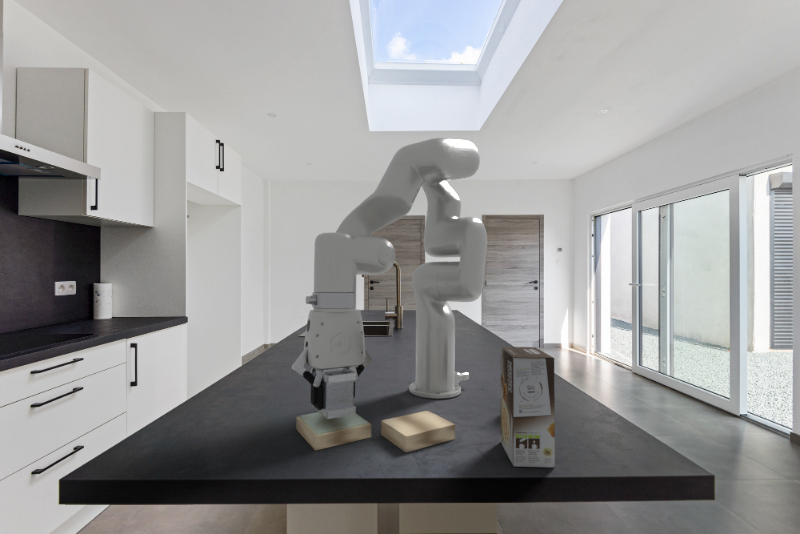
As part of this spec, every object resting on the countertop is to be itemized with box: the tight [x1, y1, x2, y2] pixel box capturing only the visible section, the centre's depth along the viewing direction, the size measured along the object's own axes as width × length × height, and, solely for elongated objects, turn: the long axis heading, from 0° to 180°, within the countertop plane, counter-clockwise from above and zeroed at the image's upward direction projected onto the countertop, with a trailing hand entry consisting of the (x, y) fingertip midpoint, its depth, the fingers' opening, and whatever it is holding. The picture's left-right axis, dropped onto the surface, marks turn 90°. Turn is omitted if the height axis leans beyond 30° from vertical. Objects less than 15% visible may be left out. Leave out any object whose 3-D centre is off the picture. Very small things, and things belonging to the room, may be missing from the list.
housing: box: [311, 368, 357, 419], centre depth 68 cm, size 8×5×7 cm, turn 32°
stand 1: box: [295, 411, 372, 451], centre depth 68 cm, size 10×10×2 cm
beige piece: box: [380, 410, 456, 453], centre depth 66 cm, size 10×8×2 cm
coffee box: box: [499, 346, 556, 469], centre depth 61 cm, size 9×6×16 cm
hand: (333, 404), depth 68 cm, fingers closed on housing, 5 cm apart
